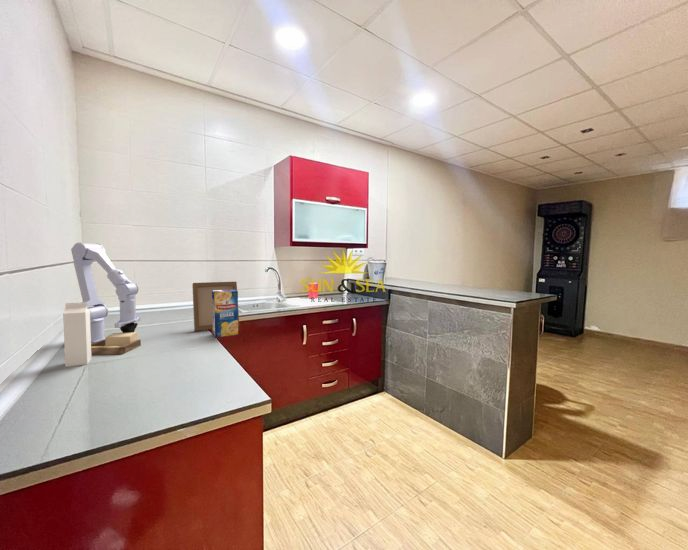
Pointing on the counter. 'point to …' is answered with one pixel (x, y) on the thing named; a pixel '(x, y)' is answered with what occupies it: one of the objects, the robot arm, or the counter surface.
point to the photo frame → (207, 302)
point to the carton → (120, 339)
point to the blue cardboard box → (224, 313)
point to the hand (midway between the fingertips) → (128, 340)
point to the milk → (77, 334)
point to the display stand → (113, 347)
